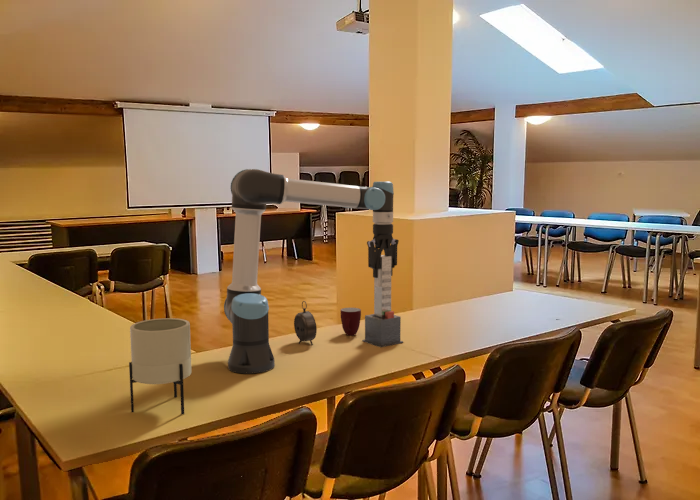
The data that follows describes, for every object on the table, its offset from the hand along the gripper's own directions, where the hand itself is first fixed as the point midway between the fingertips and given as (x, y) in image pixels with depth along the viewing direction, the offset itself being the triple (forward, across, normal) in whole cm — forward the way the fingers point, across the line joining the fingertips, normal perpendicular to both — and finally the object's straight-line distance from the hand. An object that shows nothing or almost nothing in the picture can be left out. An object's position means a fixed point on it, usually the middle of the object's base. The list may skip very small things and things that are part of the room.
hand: (382, 285), depth 229 cm
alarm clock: (+22, -25, +16) cm, 37 cm away
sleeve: (+22, 0, 0) cm, 22 cm away
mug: (+22, -4, +15) cm, 27 cm away
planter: (+22, -90, -16) cm, 94 cm away
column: (+14, 0, 0) cm, 14 cm away
